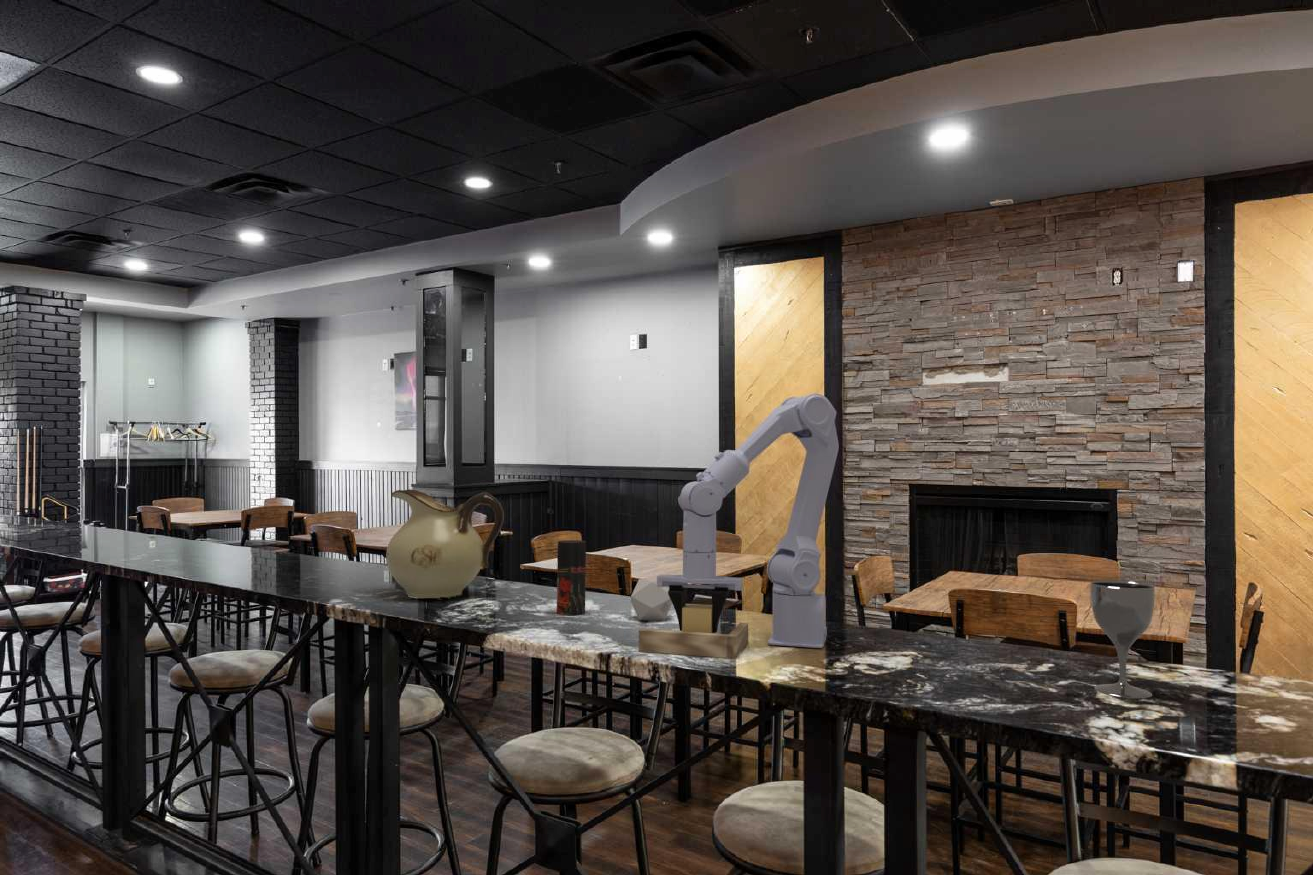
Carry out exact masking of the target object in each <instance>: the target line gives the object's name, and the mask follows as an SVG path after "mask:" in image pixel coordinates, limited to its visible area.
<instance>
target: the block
mask: <svg viewBox="0 0 1313 875" xmlns="http://www.w3.org/2000/svg"><path fill="white" fill-rule="evenodd" d="M682 631H683V632H699V633H712V604H699V603H698V604H697V603H686V605H685V606H684V607H683V608H682ZM714 634H716V633H714Z"/></svg>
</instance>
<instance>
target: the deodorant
mask: <svg viewBox="0 0 1313 875" xmlns="http://www.w3.org/2000/svg"><path fill="white" fill-rule="evenodd" d="M586 558H587V541H586V540H579V539H577V540H575V539H573V540H568V539H567V540H566V539H565V540H558V541H557V563H556V564H557V567H556V568H557V572H556V574H557V576H556V577H557V578H556V581H557V582H556V588H557V589H556V614H557V615H560V616H581V615H585V614H586V579H587V578H586V575H587V573H586V571H587V568H586V566H587V559H586Z"/></svg>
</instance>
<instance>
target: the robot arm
mask: <svg viewBox="0 0 1313 875" xmlns="http://www.w3.org/2000/svg"><path fill="white" fill-rule="evenodd" d="M836 416H837V411H836V409H835V408H834V406H833V404H832V403H831V401H830V400H829V399H828V398H827V397H826V396H825V395H823V394H822V393H810V394H808V395H803V396H798V397H797V396H792V397H788V398H786V399H785V400H784V401H783V402H782V403H781V404H780V405H778V406H776V407H775V408H773V410H772V411H771V412H770V413H769V415H768V416H767V417H766V418H765V419H764V420H763V421H762V422H761V423H760V424H759V425H758V426H757V428H755V429H754V430H753V432H751V434H750V435H749V436H748V437H747V438H746V439H745V440H744V441H743V442H742V443H741V444H740V445H739V447H737V448H736V449H735V450H734V449H733V450H732V449H726V450H724V451H723V452H721V451H719V452H718V453H716V454H715V455H714V459H715V460H714V461H713V462H712V463H711V464H710V465H709V466H708V467H706V469H705V470H704V471H703V472H702V471H700V472H698V473H696V475H695V477H696V481H691V482H688V483H686V484H685V485H684V486H683V488H681V492H680V493H679V494H680V496H678V497H677V500H678V505H679V506H680V508H681V510H682V511H683V523H682V574H658V575H657V576H656V579H657V587H669V591H668V595H669V597H670V599H671V601H672V605H673V608H674V611H675V614H676V617H677V622H678V627H679V631H682V608H683V607H684V606H685V605H687V593H688V589H689V588H690V589H710V590H711V589H712V591H711V605H712V633H715V634H717V632H718V631H719V630H718V629H719V622H720V618H721V615H722V612H723V609H724V606H725V605H726V604H725V603H726V601H727V598H728V597H729V594H730V592H731V590H732V591H736V592H737V591H739V592H740V591H742V590H743V578H742V577H734V576H721V575H717V511H719V510H720V509H721V507H722V505H723V499H725V498H726V496H728V494H729V493H731V492H732V491H733V490H734V489H735V488H736V487H737V486H738V485H739V484H740V483H741V482H742V481H743V480H744V479H745V478H746V477H747V476H748V475H749V473H750V464H751V463H752V462H753V461H754V460H755V459H756V458H757V457H758V456H760V455H761V453H763V452H764V451H765V450H766V449H767V448H768V447H769V446H771V445H772V444H773V443H774V442H775V441H777V439H779V438H780V437H781V436H783V435H785V434H791V435H793V436H794V437H796V438H797V439H798V440H799V442H800V443H801V445H802V446H803V448H804V449H805V452H806V453H805V458H804V460H803V461H804V462H803V464H802V469H801V473H800V477H799V482H798V485H797V490H796V494H795V497H794V501H793V505H792V510H791V513H790V517H789V522H788V525H787V529H786V533H785V535H784V536H783V537H782V539H780V541H779V542H778V543H777V545H776V549H775V552H774V553H773V555H772V556H771V557H769V559H768V562H767V565H766V572H767V577H768V579H769V580H770V582H771V583H773V584H772V635H771V636H770V638H769V639H768V641H767V645H769V646H770V645H771V646H783V647H784V646H786V647H799V648H813V649H823V648H824V645H825V643H826V640H827V636H828V634H827V633H828V627H827V626H826V625H827V623H826V622H827V620H826V619H827V618H826V614H827V612H826V608H827V607H826V606H827V603H826V601H827V600H826V594H825V593H816V592H815V589H816V588H817V586H818V585H819V583H820V581H821V575H822V574H821V567H820V560H821V551H820V549H819V547H818V545H817V540H818V534H819V530H820V526H821V521H822V518H823V513H824V510H825V506H826V502H827V497H828V492H829V489H830V486H831V481H832V479H833V474H834V469H835V466H836V462H837V457H838V453H839V447H840V446H839V445H840V444H839V439H838V434H837V428H836Z"/></svg>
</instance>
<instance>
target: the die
mask: <svg viewBox="0 0 1313 875" xmlns="http://www.w3.org/2000/svg"><path fill="white" fill-rule="evenodd" d="M668 591H669V587H657V578H639V579H638V581H637V583H636V585H635V587H634V589H633V591H632V593H631V595H630V601H631V604H632V607H633V609H634V612H635V614H636V617H637V620H638V621H666V618H667V616H668V614H669V612H670V609H671V607H672V605H673V603H672V601H671V599H670V597H669V595H668Z"/></svg>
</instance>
